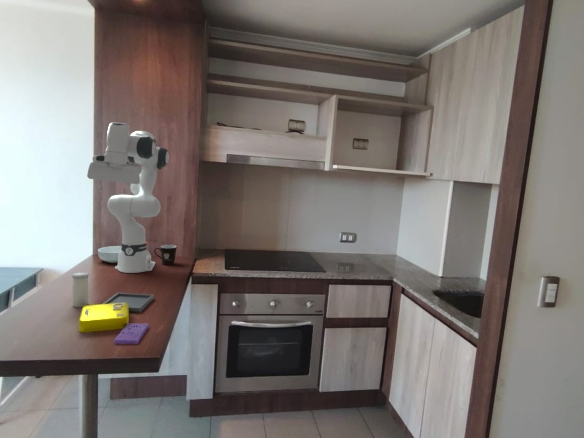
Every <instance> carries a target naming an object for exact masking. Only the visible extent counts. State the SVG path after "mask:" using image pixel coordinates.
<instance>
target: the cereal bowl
mask: <svg viewBox="0 0 584 438" xmlns="http://www.w3.org/2000/svg"><path fill="white" fill-rule="evenodd" d="M121 251H122V250H121V245H113V246H112V245H111V246H109V245H108V246H104V247H103V246H102V247H100V248H98V249H97V255H98V258H99V259H100V260H102V261H104V262H107V263H110V264H118V255H119V253H120V252H121Z"/></svg>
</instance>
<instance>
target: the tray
mask: <svg viewBox="0 0 584 438" xmlns="http://www.w3.org/2000/svg"><path fill="white" fill-rule="evenodd" d="M154 299H155V294H149V293H148V294H146V293H129V292H117V293H115V294H114V295H112V296H111V297H110V298H108V299H107V300H106V301H104V302H103V303H102V304H112V303H127V304H128V307H129V313H141V312H142V311H144V309H145V308H146V307H147V306H148V305H149V304H150V303H151V302H152V301H153V300H154Z"/></svg>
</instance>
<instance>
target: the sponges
mask: <svg viewBox="0 0 584 438" xmlns="http://www.w3.org/2000/svg"><path fill="white" fill-rule="evenodd" d="M148 329H149V323H133V322H131V323H130V322H129V323H128V324H127V325H126V327H125V328H123V329H122V330H121V331H120V333H118V334H117V336H116V337H115V339H114V341H113V342H114V343H115V345H118V344H120V345H125V344H128V345H129V344H132V345H133V344H134V345H136V344H137V345H138V344H139V342H140V341H141V340H142V338H143V336H144V334H145V333H146V332H147V331H148Z"/></svg>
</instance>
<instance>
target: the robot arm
mask: <svg viewBox="0 0 584 438" xmlns="http://www.w3.org/2000/svg"><path fill="white" fill-rule="evenodd" d="M130 131H131V130H130V125H129V124H127V123H123V122H115V121H114V122H113V121H112V122H111V123H109V125H108V128H107V133H106V142H105V143H106V149H105V150H104V152H105V153H104V154H98V155H93V156H92V161H91V162H90V163H89V166H88V170H87V175H86V176H87V178H88V179H90V180H95V181H96V185H97V186H98V192H103V188H104V187H102V186H101V184H100V183H101V181H103V182H112V183H122V184H126V188H125V189H123V192H122V194H116V195H111V196H110V198H108V201H107V206H106V207H107V209H108V211H109V213H110V214H111V215H112V216H114V217H115V218H116V219H117V221H118V223H119V224H120V227H121V236H122V237H121V240H122V241H121V244H120V246H121V250H122V251H121V252H120V253H119V255H118V263H117V265H115V266H114V269H115V270H118V271H119V273H120V272H121V273H125V274H126V273H128V274H129V273H131V274H135V273H136V274H137V273H143V272H151V271H153V269H154V267H155V265H156V262H155V261H152V255H151V253H150V252H149V250H148V245H149V242H148V241H146V231H147V230H146V228H145V227H144V225H142V224H141V223H140V222H138V221H137V220H136V219H135V218H153V217H157V216H158V215H159V214H160V212H161V210H162V209H161V207H162V206H161V203H160V200H159V199H158V197H156V196H154V194H153V192H154V191H153V190H154V187H155V185H156V182H157V181H156V180H157V175H158V172H157V171H158V170H162V169H163V168H164V167H165V168H166V166H167V165H168V163H169V161H170V154H169V150H168V149H167V148H164V147H162V146H160V147H159V146H157V140H156V138H155V136H154V135H153V134H152V133H151V132H149V131H146V130H136V131H134V132H131V133H130ZM129 189H130V192H131V193H132V195H131V194H128V190H129Z"/></svg>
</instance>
